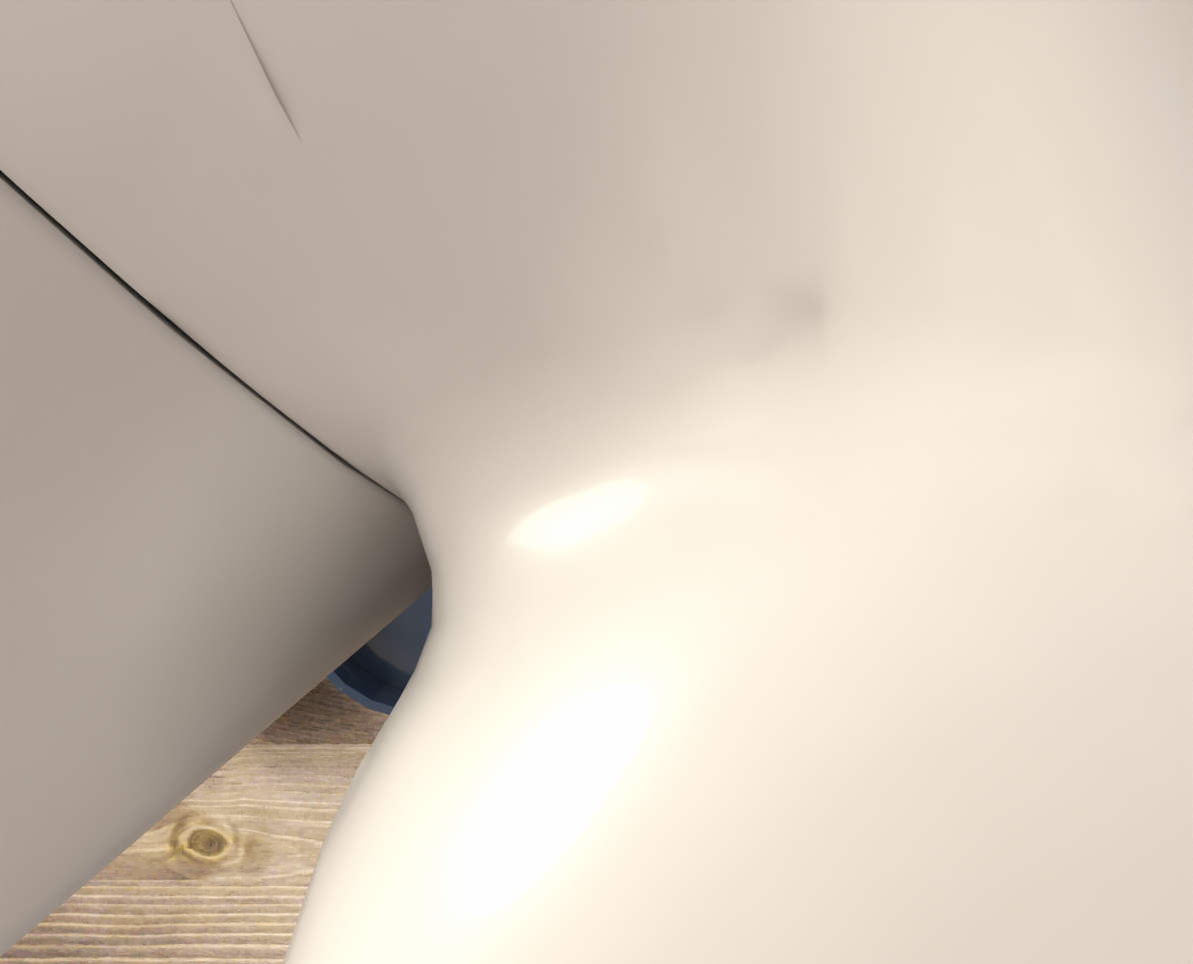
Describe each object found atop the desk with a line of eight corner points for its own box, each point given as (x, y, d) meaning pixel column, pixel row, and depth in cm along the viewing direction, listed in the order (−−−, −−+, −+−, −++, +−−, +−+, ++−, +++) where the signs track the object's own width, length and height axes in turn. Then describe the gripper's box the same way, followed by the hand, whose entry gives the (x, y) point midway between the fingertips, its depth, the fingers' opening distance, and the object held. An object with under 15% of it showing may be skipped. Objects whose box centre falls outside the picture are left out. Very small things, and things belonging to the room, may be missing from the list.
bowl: (355, 432, 61) (334, 429, 56) (584, 501, 61) (582, 504, 56) (287, 660, 61) (260, 676, 56) (515, 729, 61) (507, 751, 56)
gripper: (1270, 583, 15) (897, 517, 33) (304, 290, 15) (464, 386, 33) (1135, 1008, 15) (838, 710, 33) (177, 722, 15) (406, 580, 33)
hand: (652, 549), depth 33 cm, fingers closed on yellow sponge, 4 cm apart
